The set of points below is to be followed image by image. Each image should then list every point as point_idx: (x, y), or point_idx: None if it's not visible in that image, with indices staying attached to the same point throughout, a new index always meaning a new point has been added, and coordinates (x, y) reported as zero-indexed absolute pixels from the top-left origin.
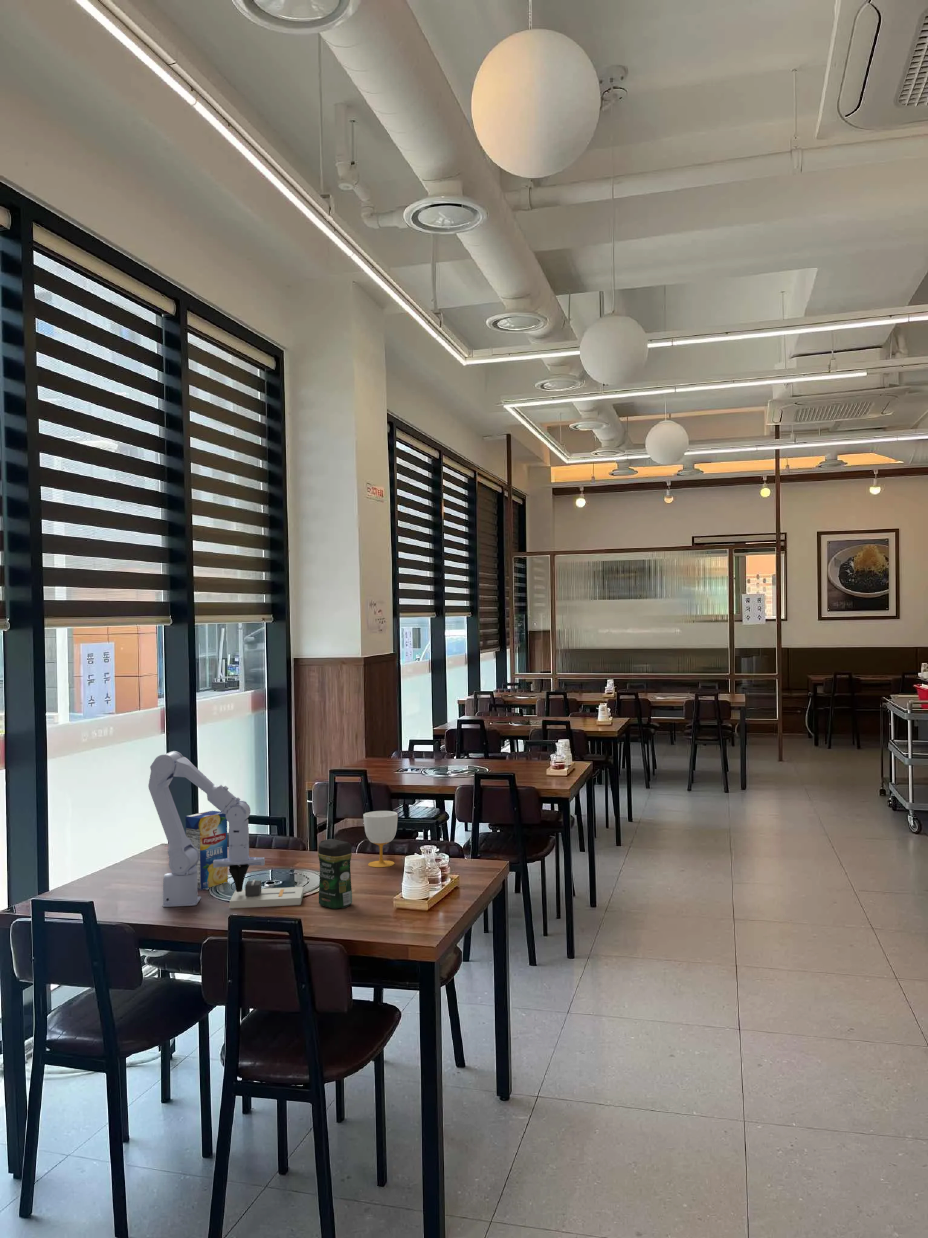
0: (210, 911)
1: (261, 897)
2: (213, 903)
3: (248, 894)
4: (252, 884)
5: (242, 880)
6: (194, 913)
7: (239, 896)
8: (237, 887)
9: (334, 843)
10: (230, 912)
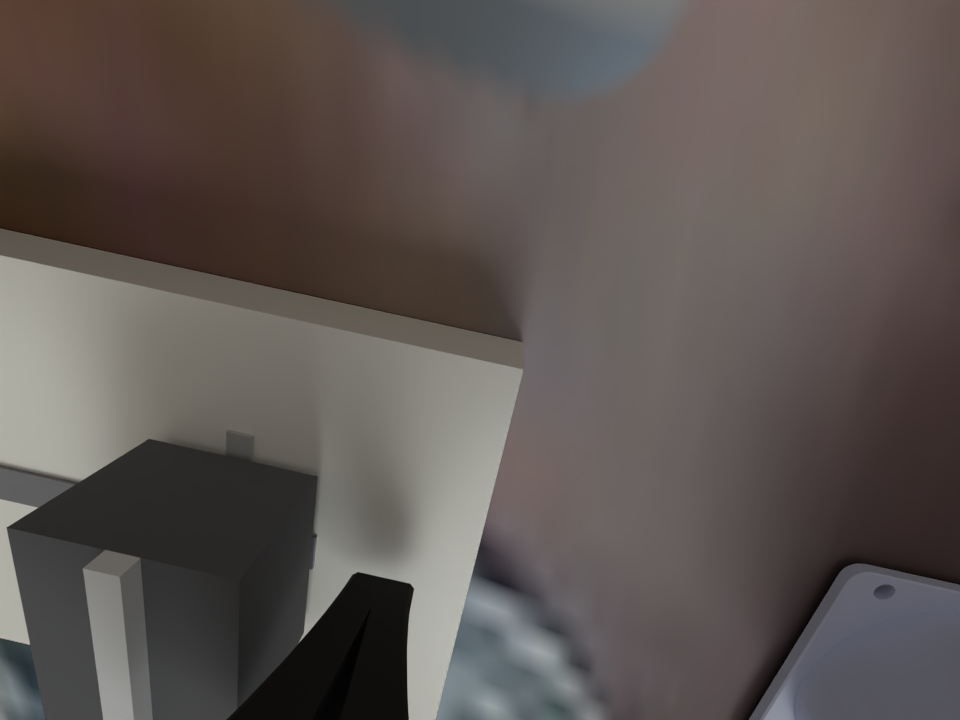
0: (747, 314)
1: (126, 385)
2: (655, 576)
3: (269, 481)
4: (103, 567)
5: (241, 715)
6: (950, 303)
7: (392, 523)
8: (383, 627)
9: None
10: (526, 174)
